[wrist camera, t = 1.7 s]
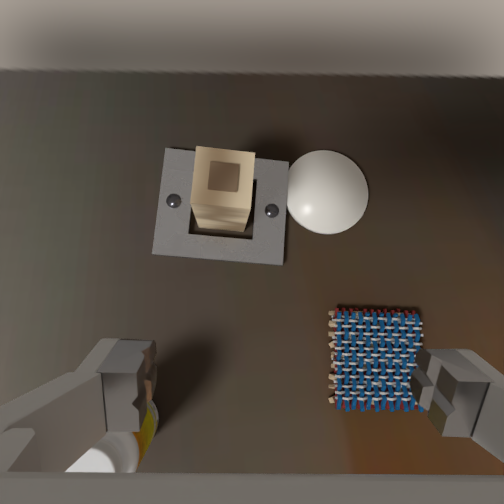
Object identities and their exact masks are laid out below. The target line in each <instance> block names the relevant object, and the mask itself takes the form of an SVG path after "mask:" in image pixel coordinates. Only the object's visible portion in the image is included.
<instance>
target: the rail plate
mask: <svg viewBox="0 0 504 504" xmlns="http://www.w3.org/2000/svg"><path fill="white" fill-rule="evenodd" d="M195 155H196V151H188V150H180V149H171V148H165V156H164V164H163V172H162V180H161V187H160V195H159V203H158V211H157V219H156V227H155V235H154V243H153V251H152V254H153V255H159V256H170V257H182V258H194V259H205V260H217V261H229V262H241V263H252V264H264V265H276V266H282V265H283V253H284V236H285V219H286V203H287V186H288V169H289V162H286V161H277V160H268V159H259V158H255V161H254V174H253V182H256V195H255V208H254V221H253V234H252V240H248V239H237V238H226V237H215V236H205V235H194V234H189V230H190V221H191V212H192V207H191V204H190V200H191V191H192V182H193V173H194V164H195Z"/></svg>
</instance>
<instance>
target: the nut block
mask: <svg viewBox="0 0 504 504" xmlns="http://www.w3.org/2000/svg"><path fill="white" fill-rule="evenodd" d="M254 161H255V153H252V152H244V151H235V150H226V149H217V148H209V147H200V146H196V155H195V164H194V173H193V182H192V191H191V200H190V204H191V207H192V209H193V212H194V215H195V218H196V221H197V223H198V226H199V228H209V229H219V230H230V231H241V232H244V229H245V226H246V223H247V220H248V216H249V213H250V210H251V199H252V187H253V174H254Z"/></svg>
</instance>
